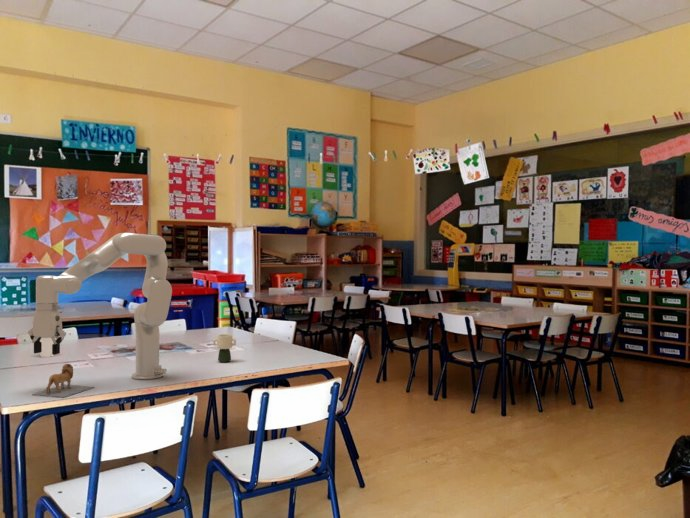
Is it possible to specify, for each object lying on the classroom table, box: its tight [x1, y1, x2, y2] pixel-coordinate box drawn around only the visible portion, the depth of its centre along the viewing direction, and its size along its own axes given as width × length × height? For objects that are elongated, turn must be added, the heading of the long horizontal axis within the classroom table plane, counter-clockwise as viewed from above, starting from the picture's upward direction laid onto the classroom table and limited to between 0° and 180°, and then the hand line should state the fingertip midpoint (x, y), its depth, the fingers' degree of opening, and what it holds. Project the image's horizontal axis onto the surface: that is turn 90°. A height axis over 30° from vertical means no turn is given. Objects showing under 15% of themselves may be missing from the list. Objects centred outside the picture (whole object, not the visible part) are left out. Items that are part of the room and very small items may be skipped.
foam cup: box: [39, 337, 57, 358], centre depth 285 cm, size 10×9×13 cm
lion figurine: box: [45, 363, 74, 394], centre depth 214 cm, size 15×5×9 cm, turn 178°
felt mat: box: [31, 383, 95, 399], centre depth 214 cm, size 14×16×1 cm
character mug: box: [212, 333, 237, 363], centre depth 273 cm, size 11×7×13 cm, turn 93°
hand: (46, 353), depth 216 cm, fingers open, 7 cm apart
